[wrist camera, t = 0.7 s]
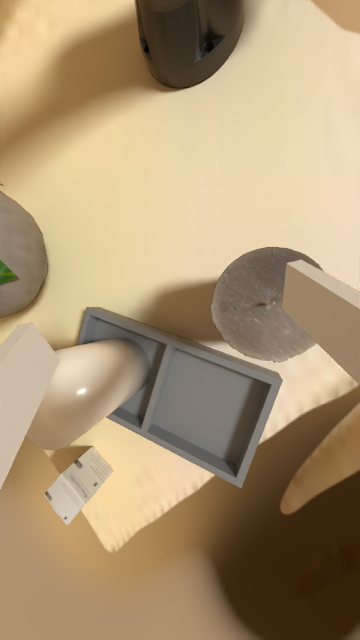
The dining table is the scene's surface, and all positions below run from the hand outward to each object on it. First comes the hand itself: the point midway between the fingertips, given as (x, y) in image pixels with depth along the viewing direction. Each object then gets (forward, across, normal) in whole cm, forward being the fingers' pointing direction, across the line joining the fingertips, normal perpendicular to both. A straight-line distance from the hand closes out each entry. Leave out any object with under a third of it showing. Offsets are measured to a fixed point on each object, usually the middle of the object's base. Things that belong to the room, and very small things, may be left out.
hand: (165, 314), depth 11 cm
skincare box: (+10, -21, -36) cm, 43 cm away
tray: (+14, -4, -22) cm, 26 cm away
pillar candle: (+16, +12, -12) cm, 23 cm away
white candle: (+17, -10, -19) cm, 28 cm away
